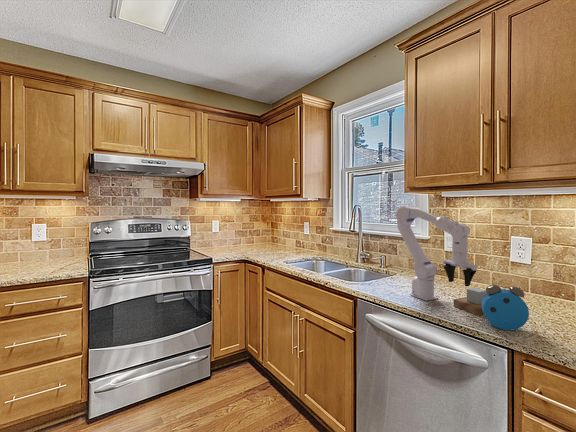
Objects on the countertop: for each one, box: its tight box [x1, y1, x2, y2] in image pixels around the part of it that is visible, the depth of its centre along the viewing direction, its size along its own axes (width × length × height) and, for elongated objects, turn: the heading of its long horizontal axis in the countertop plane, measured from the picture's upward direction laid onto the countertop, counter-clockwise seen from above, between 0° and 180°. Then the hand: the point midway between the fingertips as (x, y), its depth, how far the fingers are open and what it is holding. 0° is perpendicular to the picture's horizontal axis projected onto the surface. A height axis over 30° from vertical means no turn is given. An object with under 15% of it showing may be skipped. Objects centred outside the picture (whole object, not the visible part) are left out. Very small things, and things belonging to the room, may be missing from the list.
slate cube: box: [466, 287, 487, 304], centre depth 129 cm, size 5×5×5 cm
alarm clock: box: [481, 284, 530, 331], centre depth 109 cm, size 13×6×15 cm, turn 66°
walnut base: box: [453, 296, 485, 316], centre depth 129 cm, size 12×12×3 cm
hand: (459, 283), depth 133 cm, fingers open, 7 cm apart
